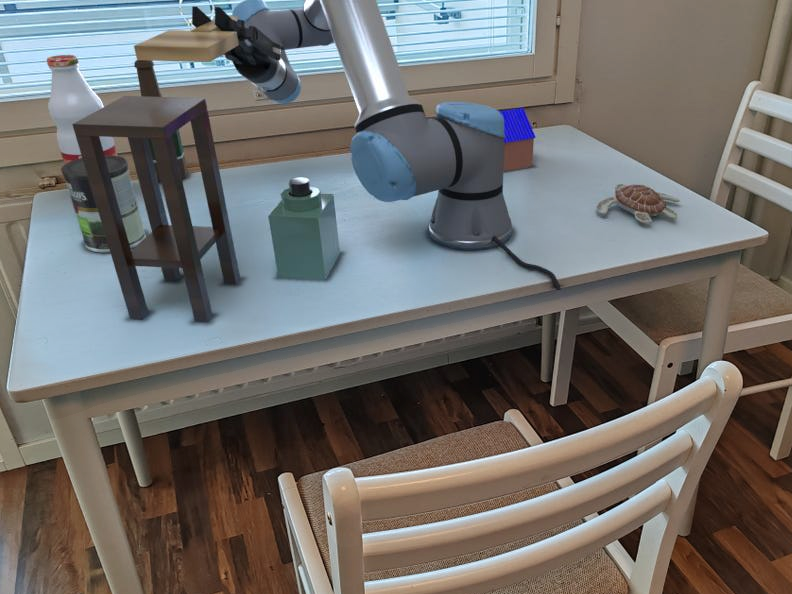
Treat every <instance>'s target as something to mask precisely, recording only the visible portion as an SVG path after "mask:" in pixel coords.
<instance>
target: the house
mask: <svg viewBox="0 0 792 594" xmlns="http://www.w3.org/2000/svg"><path fill="white" fill-rule="evenodd" d="M498 111H499V112H500V113H501V114H502V115H503V118H504V134H505V141H504V164H503V173H504V172H510V171H516V170H521V169H528V168H533V165H534V164H533V161H534V143H535V141H534V140H535V139H536V138H537V137H536V134H535V132H534V129H533V127H532V125H531V122H530V120H529V118H528V116H527V113H526V112H525V109H524V107H521V108H513V109H506V110H498Z"/></svg>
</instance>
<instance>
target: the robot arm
mask: <svg viewBox="0 0 792 594" xmlns="http://www.w3.org/2000/svg"><path fill="white" fill-rule="evenodd" d="M191 16H192V17H191V25H192V26H194V27H195V28H197V27H199V26H202V25H204V24H206V23H208V22H210V21H212V20H213V19H211V18H210V17H209V16H208V15H207V14H206V13H205V12H204V11H202V10H201V9H200V8H199V7H198V6H191ZM229 16H230V15H228V14H227V13H226V11H224V10H223V9H222V8H221V7H220V6H215V7H214V19H215V25H216V26H217V27H218V28H219V29H220V30H221V31H230V32H237V37H238V43H239V45H238V46H236V47H235V48H233V49H231V50H230V51H228V52H226V53H224V54H223V55H222V56H224V58H225V59H226V60H227V61H231V62H232V64H233V66H234V68H235V70H236V72H238V74H239V75H241V76H242V77H243V78H244V79H245V80H247V81H248V82H249V83H251V84H252V85H253V86H255V87H256V88H257V90H259V91H260V92H261V93H262V94H264V95H265V96H266V97H267V98H268V99H269V100H271V101H273V102H275V103H277V104H281V105H283V104H284V105H285V104H289V103H292V102H294V101H295V100H296V99H297V98H298V97H299V96H300V93H301V90H302V83H301V79H300V77H299V75H298V73H297V71H296V70H295V69H294V68H293V67H292V66H291V63H290V60H289V57H288V55H287V52H286V51H289V50H294V49H295V50H297V49H305V48H312V47H325V46H326V47H327V46H329V45H332V44H334V45H335V49H336V51H337V53H338V56H339V60H340V62H341V65H342V68H343V70H344V74H345V77H346V80H347V83H348V85H349V88H350V91H351V94H352V96H353V100H354V102H355V105H356V108H357V110H358V111H357V112H358V113H359V114H358V118H357V120H356V122H355V123H354V130H355V132H356V134H355V135H354V136H353V137H352V139H351V141H350V147H349V152H350V154H351V155H352V156H351V157H350V160H351V163H352V167H353V170H354V173H355V175H356V177H357V179H358V181H359V182H360V184H361V185H362V186H363V188H364V189H365V191H366V192H367V193H368V194H369V195H370V196H371V197H374V199H376V200H378V201H379V202H384V203H393V202H398V201H408V200H411V199H412V198H414V197H418V196H421V195H425V194H428V193H429V194H430V193H432V192H436V191H438V192H437V193H438V194H437V197H436V200H435V203H434V205H433V210H432V213H431V216H430V218H429V224H428V228H429V230H428V232H429V237H430V238H431V239H432V240H433V241H434V242H435V243H437V244H439V245H441V246H444V247H445V248H446V247H447V248H451V249H455V250H463V251H478V250H480V251H481V250H486V249H492V248H496V247H499V248H501V249H502V250H503V251H504V252H505V253H506V254H507V255H508V256H509V257H510V259H512V260H513V261H514V262H515V263H516V264H518V265H519V266H521V267H523V268H524V269H529V270H534V271H538V272H540V273H542V274H544V275H547V276H548V277H549V278H550V280H551V281H552V284H553V287H554V288H555V290H556V291H561V285H560V283H559V281H558V279H557V277H556V275H555V274H554V273H553V272H552V271H551V270H550V269H547V268H545V267H543V266H541V265H537V264H533V263H527V262H526V261H523V260H521V259H520V258H519V257H518V256H517V255H516V254H515V253H514V252H513V251H512V250H511V249H510V248H509V247H508V246H507V245H505V243H506V242H507V241H509V239H510V238H511V237H512V230H513V229H512V228H513V224H512V220H511V218H510V214H509V211H508V206H507V203H506V200H505V196H504V172H503V164H504V141H505V134H504V118H503V115H502V114H501V113H500V112H499V111H500V110H498V109H496V108H494V107H491V106H489V105H485V104H480V103H473V102H467V101H445V102H441V103H439V104H437V106H436V109H435V110H434V111H435V115H436V116H435V117H430V118H427V116H426V113H425V109H424V107H423V105H422V103H421V102H419V101H418V100H416V99H413V98H412V97H411V96H410V95H409V92H408V88H407V86H406V83H405V80H404V76H403V74H402V71H401V68H400V65H399V62H398V59H397V57H396V54H395V50H394V48H393V45H392V41H391V38H390V36H389V33H388V30H387V27H386V24H385V21H384V19H383V15H382V12H381V10H380V7H379V4H378V0H305V1H304V3H303V5H302V7H300V8H290V9H279V10H270V8H269V7H268V5H267V3H266V2H265V1H264V0H242V1H240V2H239V3H238V4H237V5H235V6H234V8H233V10H232V12H231V16H238V18H239V20H237V21H235V20H232V19H231V18H230V17H229Z"/></svg>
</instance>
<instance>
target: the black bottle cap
mask: <svg viewBox="0 0 792 594" xmlns="http://www.w3.org/2000/svg"><path fill="white" fill-rule="evenodd" d="M310 186H311V184H310V180H309V178H307V177H299V176H298V177H293V178H291V179H289V180H288V188H290V195H291V196H293V197H305V196H308V195H310V194H311V192H310Z"/></svg>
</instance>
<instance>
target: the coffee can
mask: <svg viewBox="0 0 792 594" xmlns="http://www.w3.org/2000/svg"><path fill="white" fill-rule="evenodd" d="M105 159H106V162H107V166H108V170H109V173H110V177H111V180H112V184H113V187H114V191H115V195H116V198H117V202H118V205H119V209H120V212H121V216H122V220H123V223H124V227H125V230H126V234H127V238H128V241H129V245H130V248H131V249H134V248H135V247H136V246H137V245H138V244H139V243H140V242H141V241H142V240H144V239H145V238H146V237H147V234H146V232H145V228H144V225H143V221H142V217H141V212H140V210H139V205H138V202H137V197H136V193H135V190H134V189H135V188H134V185H133V181H132V178H131V174H130V170H129V162H128V160H127V159H126V158H125V157H122V156H113V155H105ZM60 171H61V173H62V174H61V175H63V177H64V180H65V181H64V182H65V185H66V188H67V190H68V193H69V196H70V201H71V203H72V207H73V209H74V213H75V215H76V218H77V222H78V225H79V228H80V231H81V234H82V238H83V242H84V246H85V248H86V249H87V250H89V251H90V252H94V253H99V254H100V253H102V254H111V253H110V250H109V246H108V243H107V239H106V236H105V233H104V229H103V226H102V223H101V219H100V216H99V213H98V209H97V206H96V203H95V199H94V196H93V192H92V189H91V186H90V182H89V179H88V176H87V172H86V169H85V166H84V162H83V159H82V158H79V159H76V160H73V161H71V162H69V163H67V164H64V165H62V167H61V168H60Z"/></svg>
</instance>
